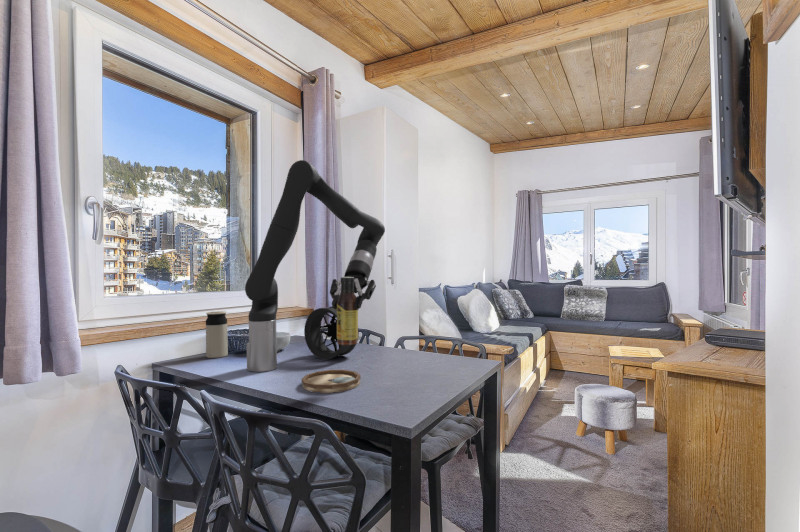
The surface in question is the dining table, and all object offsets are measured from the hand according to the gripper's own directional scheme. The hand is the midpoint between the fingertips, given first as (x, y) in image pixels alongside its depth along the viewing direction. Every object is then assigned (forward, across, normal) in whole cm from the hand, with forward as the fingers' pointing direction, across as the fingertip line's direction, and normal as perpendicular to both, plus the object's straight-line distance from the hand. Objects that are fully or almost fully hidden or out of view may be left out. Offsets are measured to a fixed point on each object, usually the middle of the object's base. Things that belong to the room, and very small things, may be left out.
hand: (345, 307), depth 117 cm
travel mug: (-3, -69, +38) cm, 79 cm away
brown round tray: (+15, -6, +19) cm, 24 cm away
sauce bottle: (+7, 0, +9) cm, 11 cm away
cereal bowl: (-13, -53, +48) cm, 73 cm away
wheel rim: (-9, -21, +43) cm, 49 cm away
